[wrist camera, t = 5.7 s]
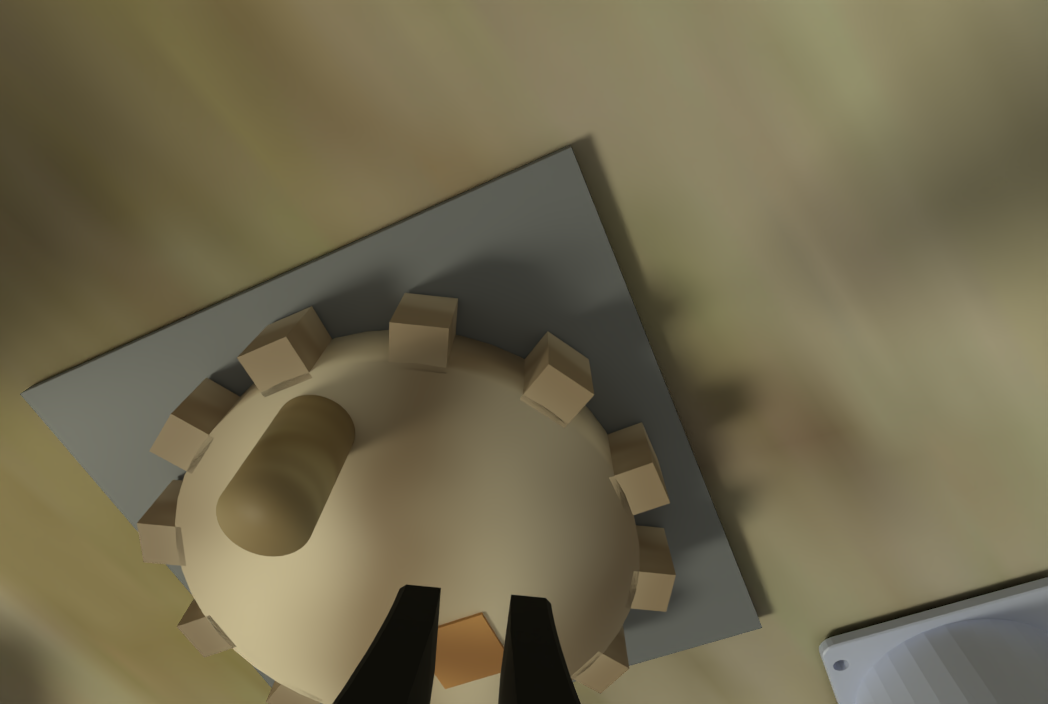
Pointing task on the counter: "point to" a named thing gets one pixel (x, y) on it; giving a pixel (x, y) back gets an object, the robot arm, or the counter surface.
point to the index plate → (483, 314)
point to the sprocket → (405, 504)
